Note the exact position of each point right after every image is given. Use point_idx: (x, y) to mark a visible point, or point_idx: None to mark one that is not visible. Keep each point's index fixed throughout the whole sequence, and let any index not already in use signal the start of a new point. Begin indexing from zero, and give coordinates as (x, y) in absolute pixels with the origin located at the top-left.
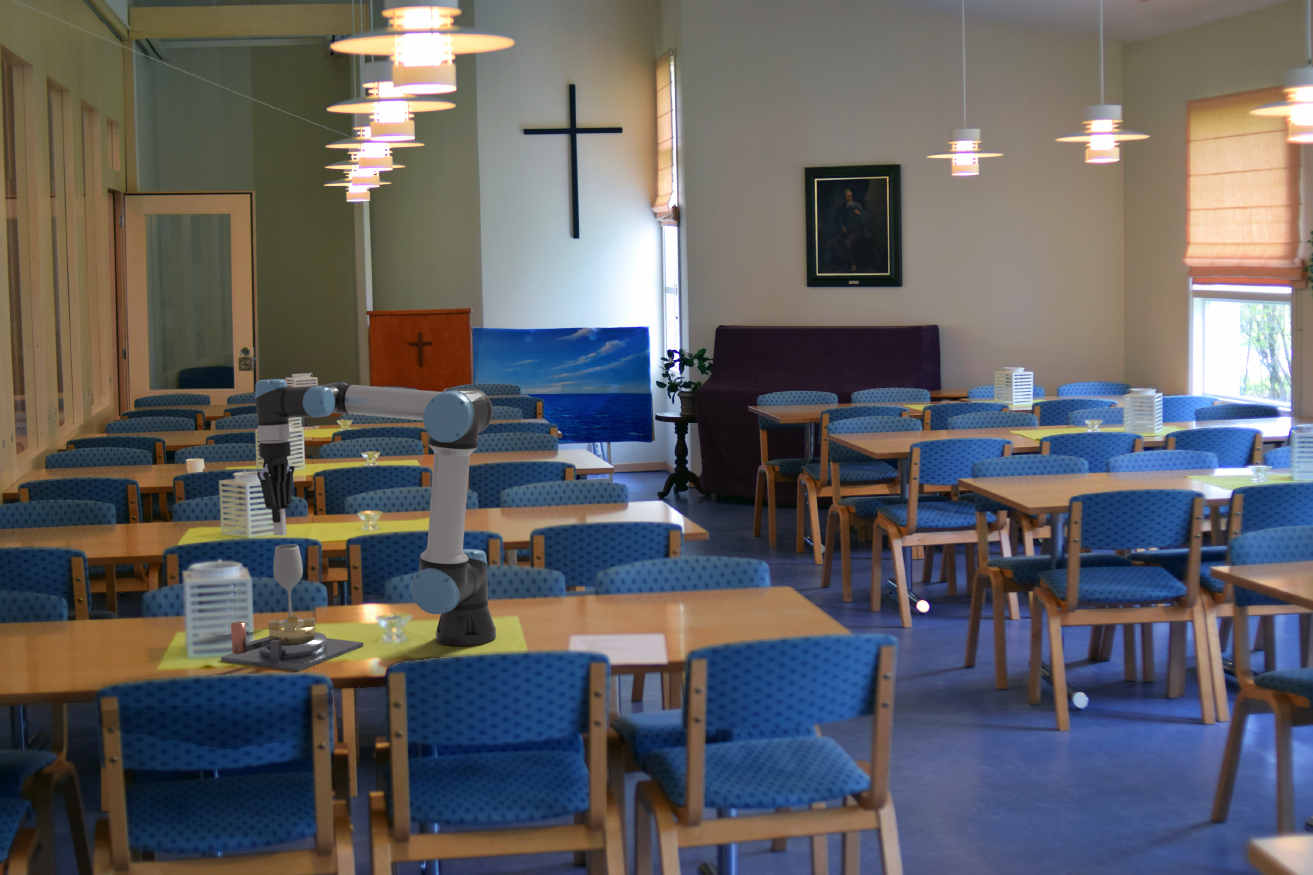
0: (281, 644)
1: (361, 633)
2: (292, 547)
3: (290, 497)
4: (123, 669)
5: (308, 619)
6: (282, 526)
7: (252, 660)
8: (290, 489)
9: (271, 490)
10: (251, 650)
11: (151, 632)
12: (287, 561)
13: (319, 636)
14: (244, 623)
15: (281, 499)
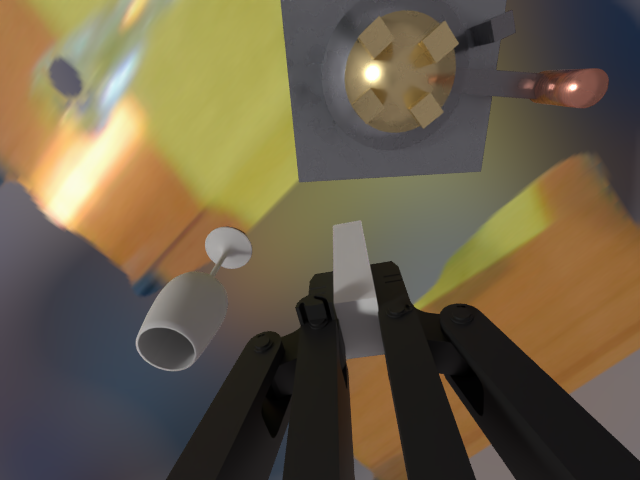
0: (485, 22)
1: (202, 60)
2: (144, 348)
3: (237, 374)
4: (559, 270)
5: (381, 36)
6: (364, 241)
7: None
8: (207, 444)
9: (604, 454)
10: (424, 153)
11: (371, 374)
12: (200, 306)
13: (348, 35)
14: (585, 70)
15: (340, 375)
